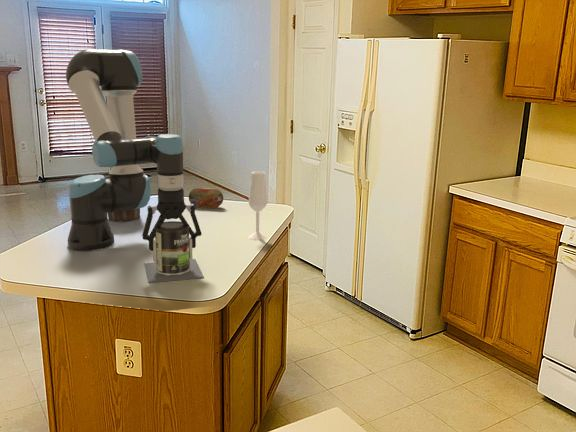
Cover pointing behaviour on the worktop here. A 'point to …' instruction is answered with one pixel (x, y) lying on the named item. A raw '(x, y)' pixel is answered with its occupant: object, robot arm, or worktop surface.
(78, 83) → the robot arm
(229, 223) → the worktop surface
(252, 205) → the champagne flute
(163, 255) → the coffee can
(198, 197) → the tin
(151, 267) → the dot mat
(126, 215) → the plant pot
